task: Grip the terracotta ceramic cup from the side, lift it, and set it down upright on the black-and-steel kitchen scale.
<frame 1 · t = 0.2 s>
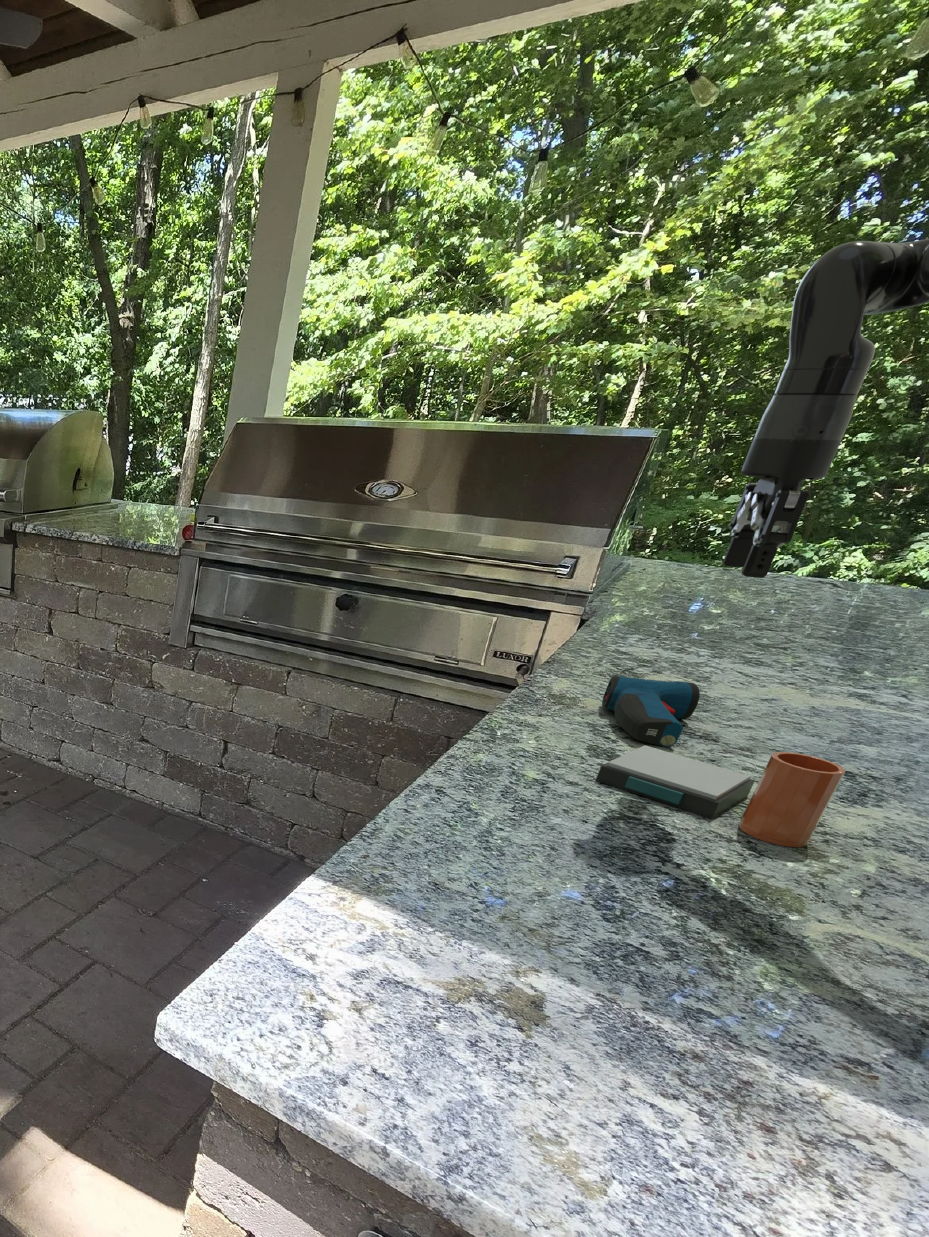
hand: (742, 571, 102), 30 cm above the counter, tool pointing down, fingers open, 8 cm apart
scale: (670, 788, 112), on the counter
cup: (772, 834, 100), on the counter
infrared thermometer: (651, 728, 133), on the counter
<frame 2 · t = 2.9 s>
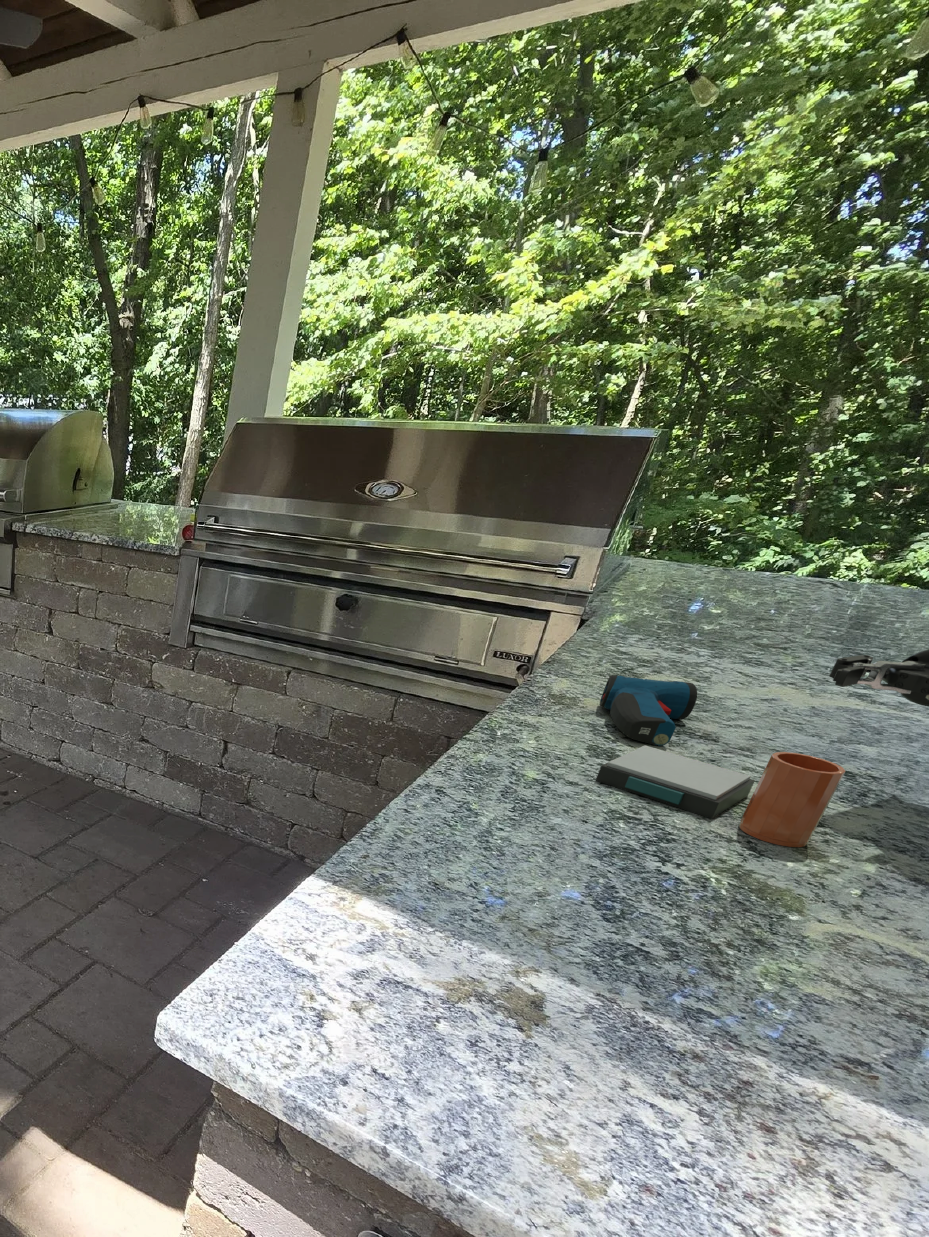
hand: (888, 689, 97), 18 cm above the counter, tool horizontal, fingers open, 8 cm apart
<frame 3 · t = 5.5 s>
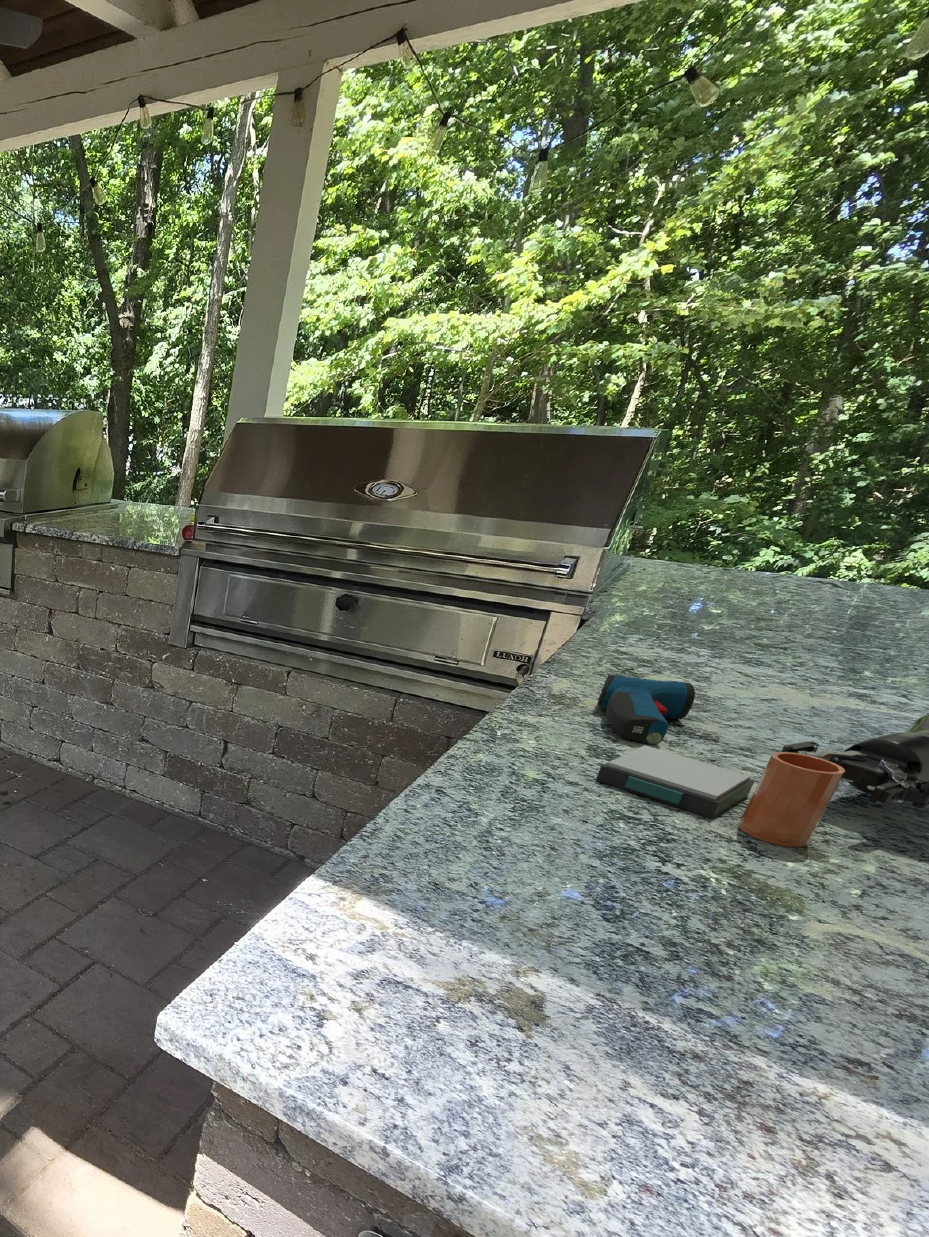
hand: (829, 781, 100), 6 cm above the counter, tool horizontal, fingers open, 8 cm apart
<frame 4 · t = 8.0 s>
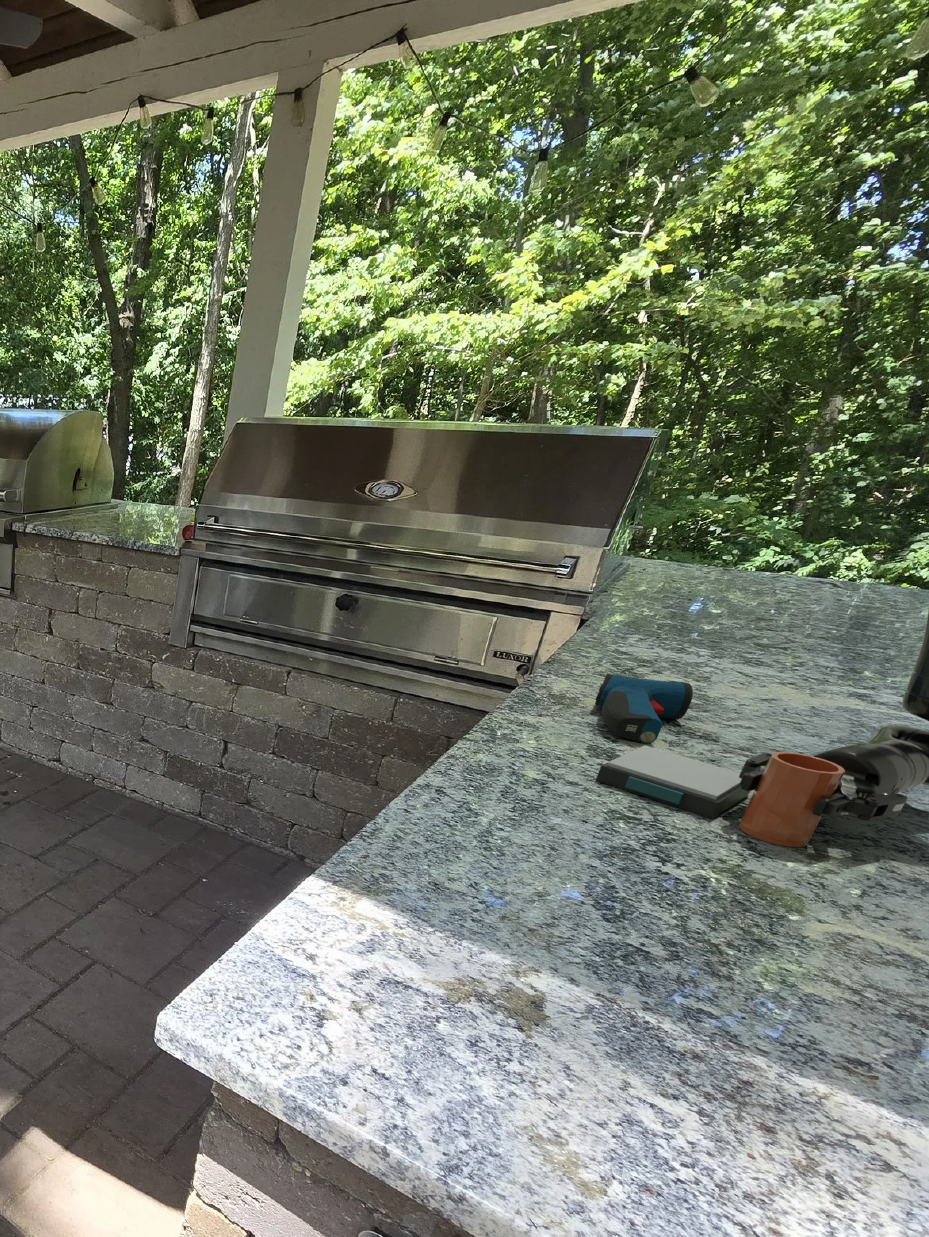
hand: (782, 795, 97), 6 cm above the counter, tool horizontal, fingers closed on cup, 6 cm apart
cup: (772, 834, 100), on the counter, touching gripper
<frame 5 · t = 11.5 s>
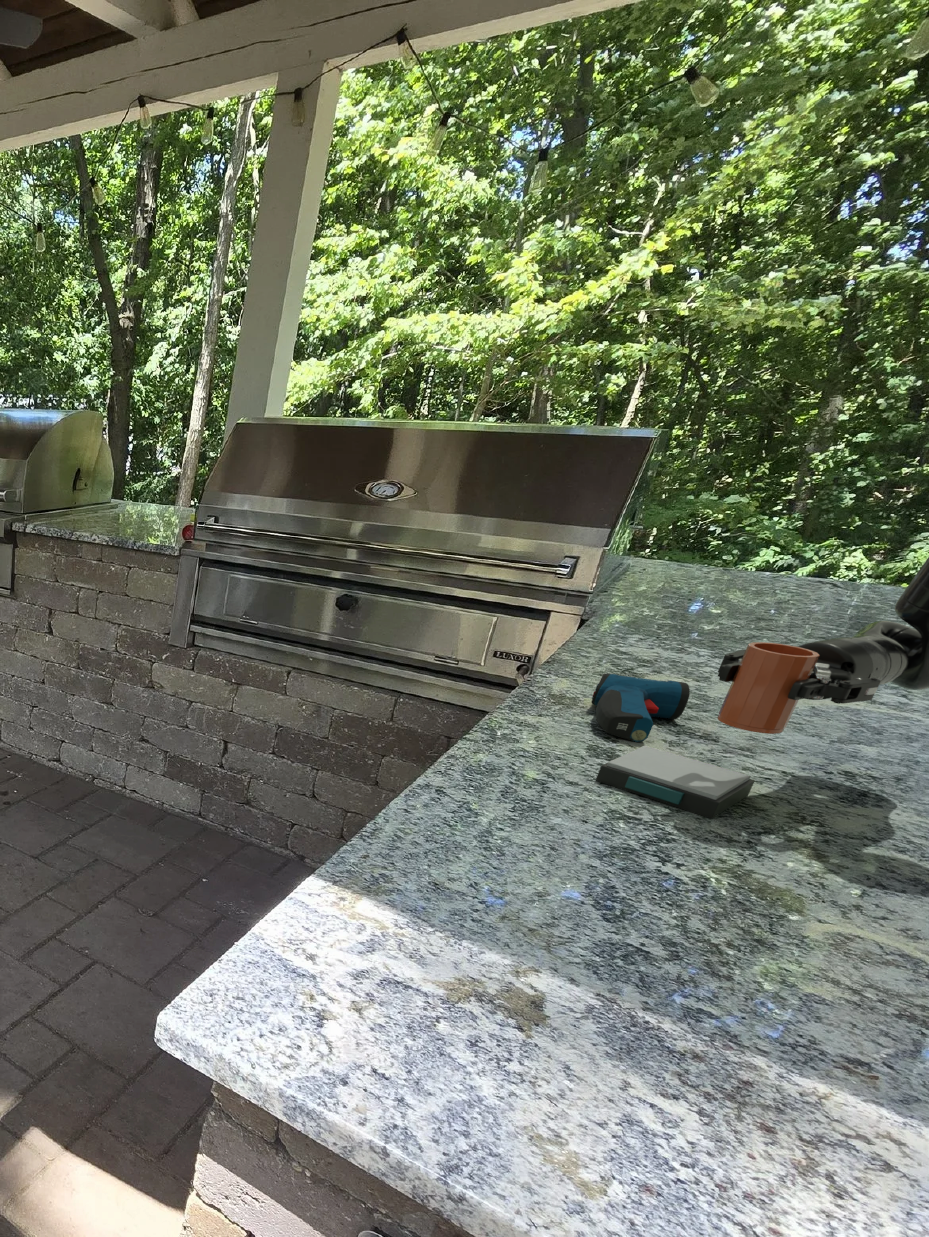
hand: (758, 682, 99), 18 cm above the counter, tool horizontal, fingers closed on cup, 6 cm apart
cup: (749, 724, 102), point 12 cm above the counter, touching gripper
when the fingers open (9 cm above the counter, at t = 14.9 s): cup stays where it is, resting on scale.
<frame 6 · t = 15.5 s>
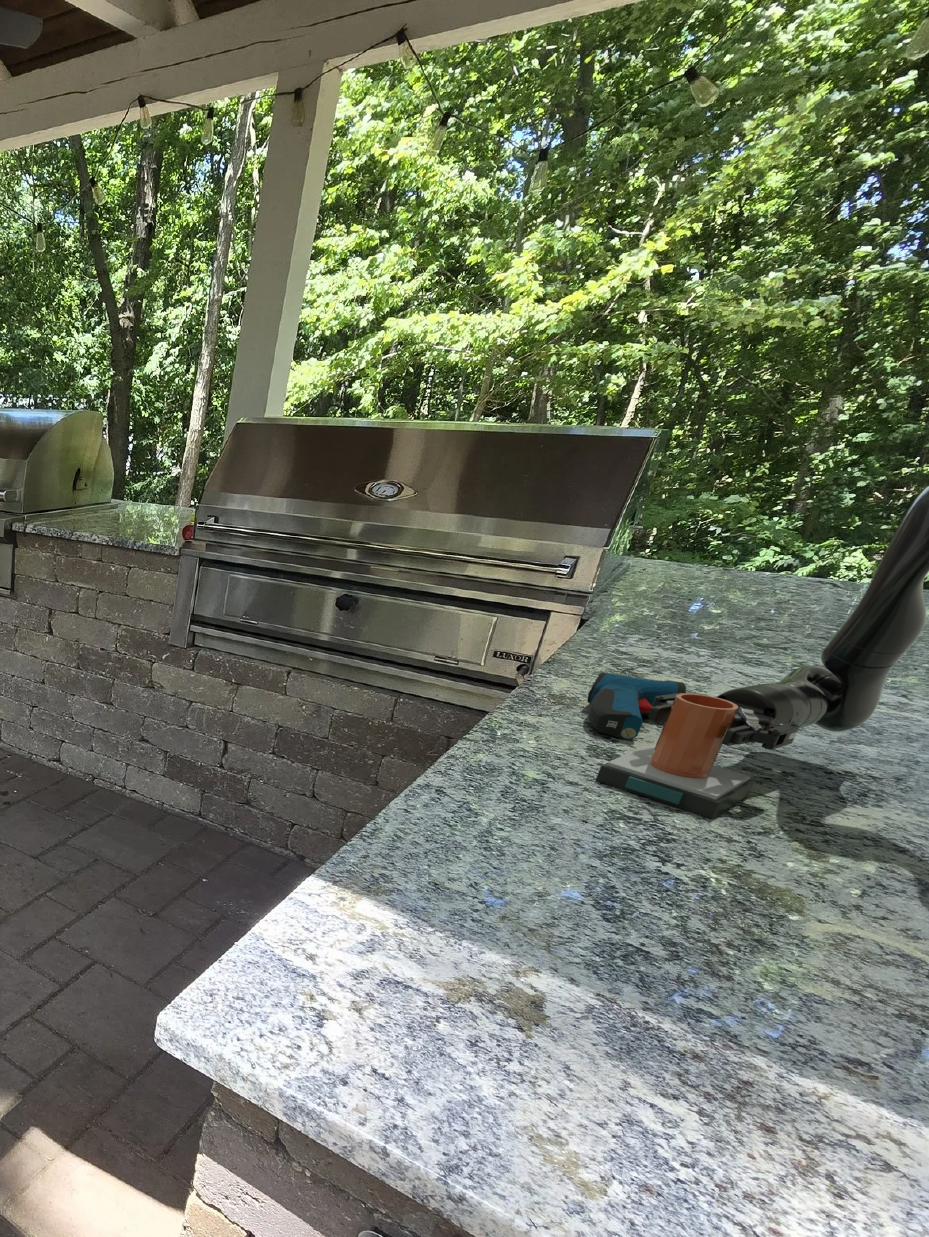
hand: (689, 726, 107), 10 cm above the counter, tool horizontal, fingers open, 8 cm apart
cup: (678, 768, 111), point 3 cm above the counter, touching scale
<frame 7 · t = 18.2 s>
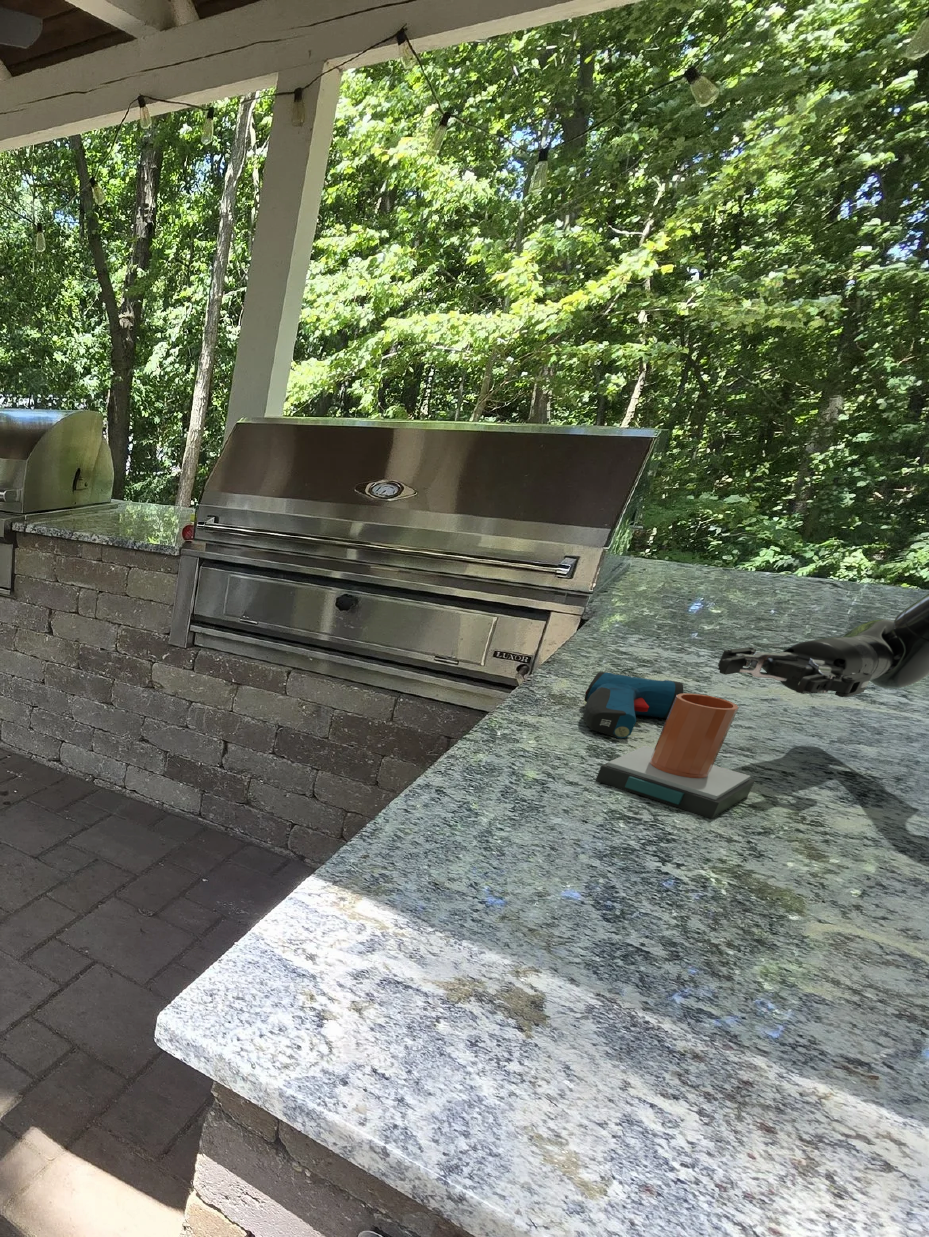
hand: (762, 676, 109), 15 cm above the counter, tool horizontal, fingers open, 8 cm apart
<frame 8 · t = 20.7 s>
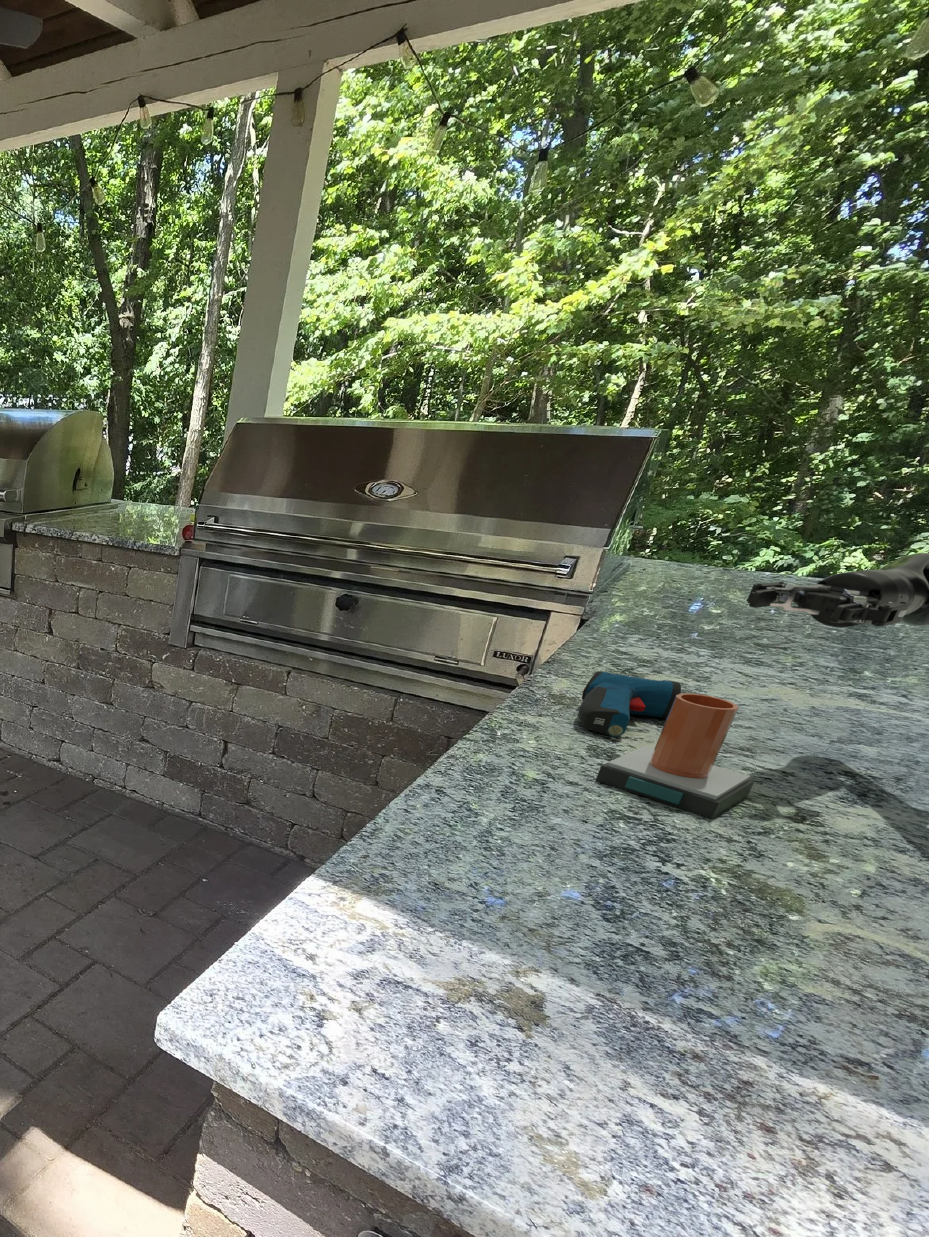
hand: (794, 606, 106), 25 cm above the counter, tool horizontal, fingers open, 8 cm apart
at the end: cup inside the target area on the scale (0.1 cm from its centre), point 3.0 cm above the scale's base; cup tilted 0°; the gripper is holding nothing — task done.
